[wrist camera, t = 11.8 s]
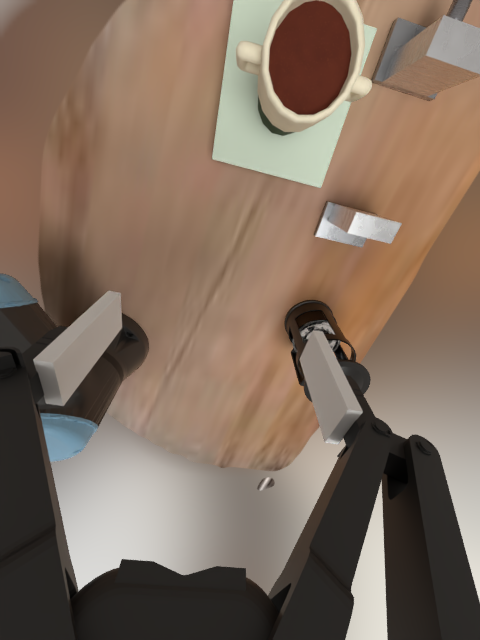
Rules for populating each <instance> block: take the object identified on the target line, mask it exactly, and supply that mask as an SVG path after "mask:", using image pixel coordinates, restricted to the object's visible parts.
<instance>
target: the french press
mask: <svg viewBox="0 0 480 640" xmlns="http://www.w3.org/2000/svg"><path fill="white" fill-rule="evenodd" d="M310 311H322V312H323V314H324V316H325V318H326V320H323V319H319V320H313V321H309V322H307V323H305V324H303V325H302V326H300V327H299V328H298V325H297V322H296V318H297V317H299V316H300V315H302V314H304V313H306V312H310ZM285 329H286V331H287V333H288V336H289V338H290V341H291V342H292V343H293V347H294V348H293V349H292V351H291V355H292V359H293V363H294V367H295V370H296V374H297V378H298V381H299V384H300V385H301V386H304V392H305V395H306V396H307V398H308V399H309V400H310V401H311V402H312V399H311V396H310V392H309V389H308V386H307V383H306V379H305V376H304V373H303V369H302V366H301V363H300V360H299V359H300V357H301V355H302V353H303V350H304V348H305V346H306V344H307V342H308V340H309V338H310V335H311V333H312V331H313V330H314V331H320V332H323V333H324V335H325V337H326V339H327V341H328V343H329V345H330V347H331V349H332V351H333V352H334V353H335V355H336V357H337V358H336V359H337V361H338V363H339V365H340V367H341V369H342V371H343V373H344V375H347V376H351V377H352V378H353V379H354V380H355V382H356V383H357V384H358V386H359V388H360V390H361V392H362V393H363V394H364V393H365V392H366V391H367V389H368V387H369V385H370V375H369V372H368V371H367V369H366V368H365V367H364V366H363V365H361V364H359V363H357V362H355V361H356V353H355V350H354V348H353V347H352V345H351V344H350V342H349V341H348V340H347V339H346V338H345V337H344V335H343V333H342V332H341V330H340V328H339V327H338V325H337V322H336V320H335V318H334V317H333V314H332V311H331V309H330V308H329V307H328V306H327V305H326V304H324V303H323V302H320V301H316V300H308V301H303V302H301V303H298V304H297V305H295V306H294V307H293V308H291V309H290V311H289V312H288V313H287V315H286V318H285ZM341 341H342V342H344V343H346V344H348V345H349V346H350V347H351V351H352V354H351V358H350V360H348V358H347V356H346V354H345V352H344V351H343V349H342V347H341V345H340V342H341Z"/></svg>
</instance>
